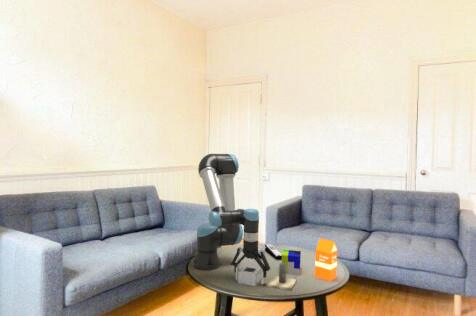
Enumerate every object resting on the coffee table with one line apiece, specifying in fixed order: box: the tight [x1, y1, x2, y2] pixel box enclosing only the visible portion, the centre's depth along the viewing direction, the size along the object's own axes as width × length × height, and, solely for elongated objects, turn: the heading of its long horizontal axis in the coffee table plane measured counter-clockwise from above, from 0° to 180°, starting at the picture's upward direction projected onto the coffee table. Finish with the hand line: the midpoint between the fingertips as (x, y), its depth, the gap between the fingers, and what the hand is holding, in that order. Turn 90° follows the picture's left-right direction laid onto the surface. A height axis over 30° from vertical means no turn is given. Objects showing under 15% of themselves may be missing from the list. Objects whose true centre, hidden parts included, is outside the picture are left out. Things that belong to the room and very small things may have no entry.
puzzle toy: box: [281, 249, 302, 276], centre depth 187 cm, size 10×10×10 cm
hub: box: [237, 265, 262, 287], centre depth 170 cm, size 9×9×6 cm
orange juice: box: [314, 237, 338, 282], centre depth 179 cm, size 8×9×20 cm
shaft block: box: [267, 262, 297, 292], centre depth 168 cm, size 12×12×10 cm
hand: (249, 281), depth 170 cm, fingers open, 13 cm apart
